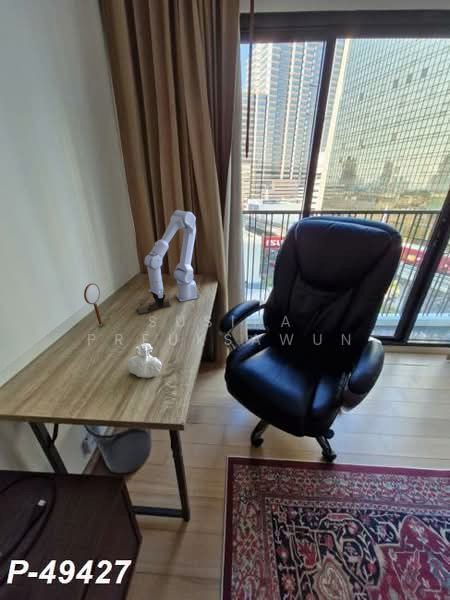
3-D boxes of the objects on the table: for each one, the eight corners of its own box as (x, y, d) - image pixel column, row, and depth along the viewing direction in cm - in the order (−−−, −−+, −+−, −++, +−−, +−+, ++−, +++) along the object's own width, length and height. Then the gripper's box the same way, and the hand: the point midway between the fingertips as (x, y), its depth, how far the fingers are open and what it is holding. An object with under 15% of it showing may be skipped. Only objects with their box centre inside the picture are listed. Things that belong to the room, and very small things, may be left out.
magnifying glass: (96, 331, 107) (84, 288, 97) (93, 331, 107) (80, 288, 98) (108, 320, 114) (98, 280, 105) (105, 320, 115) (94, 280, 105)
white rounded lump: (164, 377, 85) (168, 344, 87) (156, 380, 78) (160, 344, 80) (131, 374, 87) (136, 341, 89) (120, 376, 80) (125, 341, 82)
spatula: (168, 303, 129) (167, 297, 127) (170, 307, 125) (170, 301, 123) (138, 309, 123) (137, 304, 122) (139, 314, 119) (138, 308, 118)
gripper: (144, 276, 122) (148, 300, 129) (150, 287, 111) (154, 313, 117) (158, 273, 125) (162, 298, 131) (165, 284, 113) (169, 310, 120)
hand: (159, 305), depth 124 cm, fingers open, 5 cm apart
